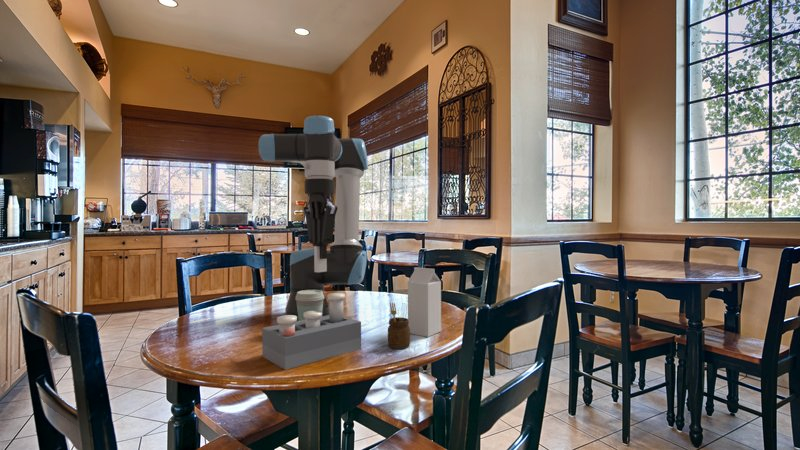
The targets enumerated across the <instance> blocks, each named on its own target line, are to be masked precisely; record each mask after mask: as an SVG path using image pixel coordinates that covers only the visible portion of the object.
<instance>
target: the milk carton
mask: <svg viewBox="0 0 800 450" xmlns="http://www.w3.org/2000/svg"><path fill="white" fill-rule="evenodd" d="M413 270H414V271H412V272H413V273H412V274H411V275H410V278H409V279H408V281H407V319H408V321H409V324H408V326H409V328H410V335H411V334H412V335H417V336H422V337H427V338H429V337H432V336H433V335H436V334H438V333H440V332H442V280H441V279H440V278H439V276H438V275H437V274H436V272H435V268H429V267H428V268H426V267H417V266H416V267H414V268H413Z"/></svg>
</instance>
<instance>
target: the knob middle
mask: <svg viewBox="0 0 800 450" xmlns="http://www.w3.org/2000/svg"><path fill="white" fill-rule="evenodd" d="M303 317H304V318H306V329H308V328H313V327H318V326H320V318H321V317H322V311H307V312H304V313H303Z"/></svg>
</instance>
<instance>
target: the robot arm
mask: <svg viewBox="0 0 800 450" xmlns="http://www.w3.org/2000/svg"><path fill="white" fill-rule="evenodd" d="M334 121H335V120H334V119H333V118H331V117H330V116H326V115H310V116H307V117H306V118H305V119H304V121H303V125H304V126H303V133H270V134H268V133H266V134H262V135H261V136H260V137H259V139H258V153H259V157H260V159H261V160H263V161H264V162H272V163H274V162H276V163H277V162H283V163H284V162H285V163H295V164H300V165H301V166H303V168H304V177H305V178H306V179H305V180H304V193H305V195H308V196H309V199H308V205H307V206H304V207H303V212H304V215H305V220H306V221H305V222H306V229H307V236H308V243H309V244H312V246H313V247H311V248H305V249H304V248H303V249H299V250H295V251H292V252H291V253H290V256H289V257H290V258H289V280H290V281H289V284H290V285H289V288H290V289H289V290H290V292H289V296H288V300H287V303H286V305H285V309H284V311H285V315H295V316H297V320H299V319H298V311H297V302H296V300H295V298H296V295H297V292H299V291H303V290H321V291H323V294H324V297H325V298H324V299H323V309H322V316H327V315H330V313H329V301H328V299H327V296H326V294H325V285H348V286H350V285H359V284H361V283H362V282H363V281H364V277H365V274H366V267H367V263H368V262H367V261H368V260H367V259H368V255H367V254H368V253H367V251H365V250H363V249H364V248H363V247H364V246H363V245H362V244H361V243H360V241H359V239H360V238H359V237H360V235H359V233H360V232H359V231H360V227H359V226H360V187H361V186H360V179H361V178H362V177H364V174H365V171H367V170H368V169H369V163H368V162H369V161H368V156H367V155H368V154H367V148H366V144H365V141H364V140H363V139H362V138H353V137H351V138H348V137H347V138H343V137H342V138H338V137H337V136H336V135H335V130H336V129H335V122H334ZM334 178H336V182H335V180H334ZM334 194H335V205H334V204H333V203H332V202H333V201H332V197H331V196H332V195H334ZM333 238H334V241H333ZM329 245H330V246H329ZM328 246H329V250H328V248H327V247H328Z"/></svg>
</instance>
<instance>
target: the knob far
mask: <svg viewBox="0 0 800 450" xmlns="http://www.w3.org/2000/svg"><path fill="white" fill-rule="evenodd" d="M326 299H327V300H328V305H329V315H330V322H331V323H337V322H341V321H343V317H344V299H346V294H345V293H344V292H343V293H342V292H333V293H328V294H327V296H326Z"/></svg>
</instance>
